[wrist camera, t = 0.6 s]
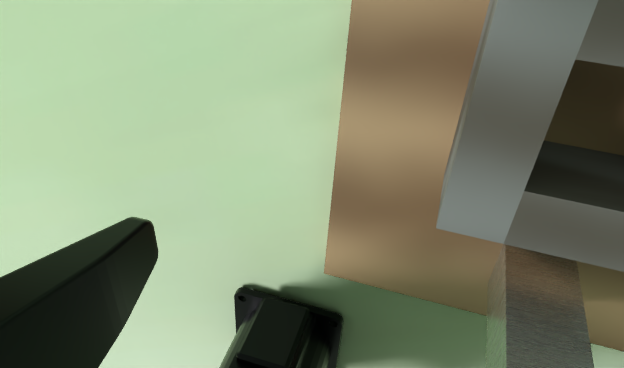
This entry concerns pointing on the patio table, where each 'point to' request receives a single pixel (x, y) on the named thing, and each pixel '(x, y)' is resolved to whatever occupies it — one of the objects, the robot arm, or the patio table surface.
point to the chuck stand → (482, 148)
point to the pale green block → (536, 312)
